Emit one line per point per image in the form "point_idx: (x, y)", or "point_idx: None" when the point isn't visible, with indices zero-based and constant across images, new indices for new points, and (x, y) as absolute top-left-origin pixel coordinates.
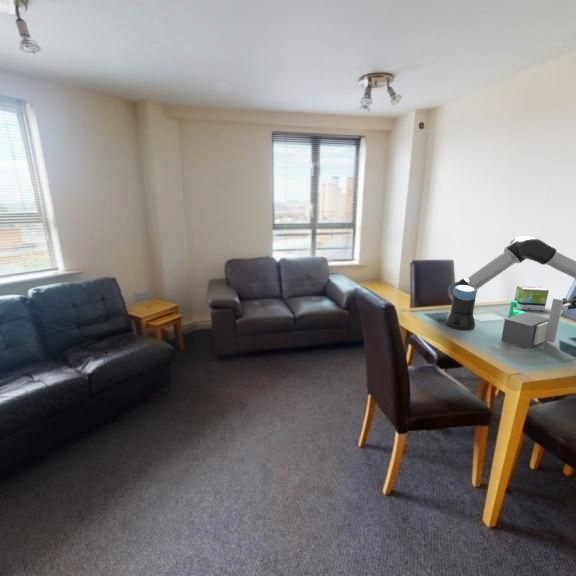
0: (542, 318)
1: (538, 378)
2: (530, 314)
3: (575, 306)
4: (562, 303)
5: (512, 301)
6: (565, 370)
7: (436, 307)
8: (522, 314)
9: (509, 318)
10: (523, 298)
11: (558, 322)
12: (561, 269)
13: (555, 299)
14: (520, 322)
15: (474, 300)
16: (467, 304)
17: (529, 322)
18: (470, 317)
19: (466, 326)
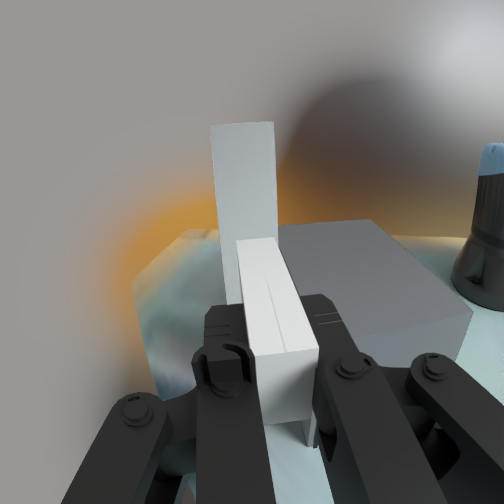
0: (341, 310)
1: (173, 243)
2: (431, 311)
3: (182, 408)
4: (212, 152)
5: None
6: (143, 287)
7: None
8: (430, 282)
9: (371, 227)
10: None
11: (226, 298)
12: None
13: (254, 122)
14: (317, 225)
15: (493, 185)
16: (477, 190)
17: (306, 240)
18: (473, 247)
19: (454, 266)
